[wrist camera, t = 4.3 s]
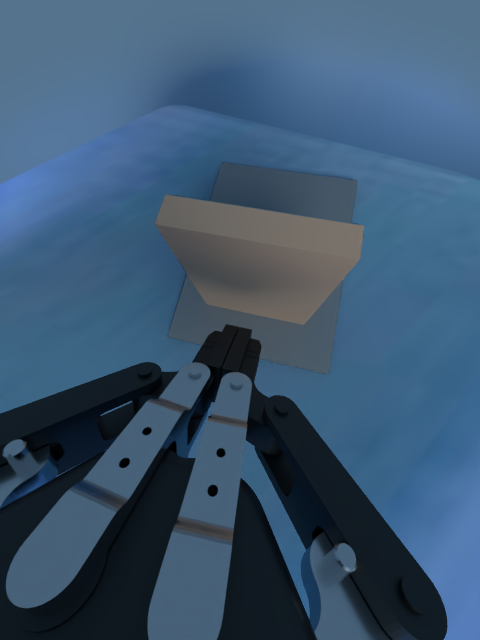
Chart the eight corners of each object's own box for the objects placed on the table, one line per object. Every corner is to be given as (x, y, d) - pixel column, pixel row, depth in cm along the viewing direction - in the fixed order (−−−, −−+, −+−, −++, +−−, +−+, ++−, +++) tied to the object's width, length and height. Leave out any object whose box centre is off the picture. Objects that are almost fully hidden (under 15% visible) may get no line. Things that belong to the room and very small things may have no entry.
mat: (326, 374, 23) (328, 373, 22) (170, 337, 25) (167, 336, 24) (354, 186, 28) (357, 180, 27) (222, 167, 30) (221, 162, 29)
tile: (303, 324, 23) (359, 259, 11) (206, 304, 25) (154, 224, 12) (307, 305, 24) (364, 221, 11) (211, 286, 25) (166, 191, 12)
